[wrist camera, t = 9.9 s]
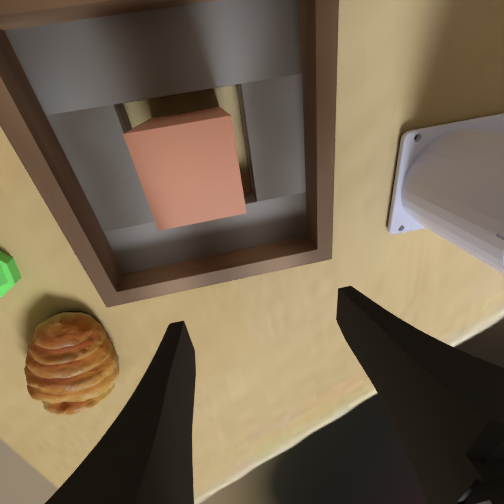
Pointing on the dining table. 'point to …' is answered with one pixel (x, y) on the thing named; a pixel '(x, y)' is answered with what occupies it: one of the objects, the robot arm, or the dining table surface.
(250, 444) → the dining table surface
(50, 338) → the pastry
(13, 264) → the game piece
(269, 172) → the socket box
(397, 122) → the dining table surface
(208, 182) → the peg
